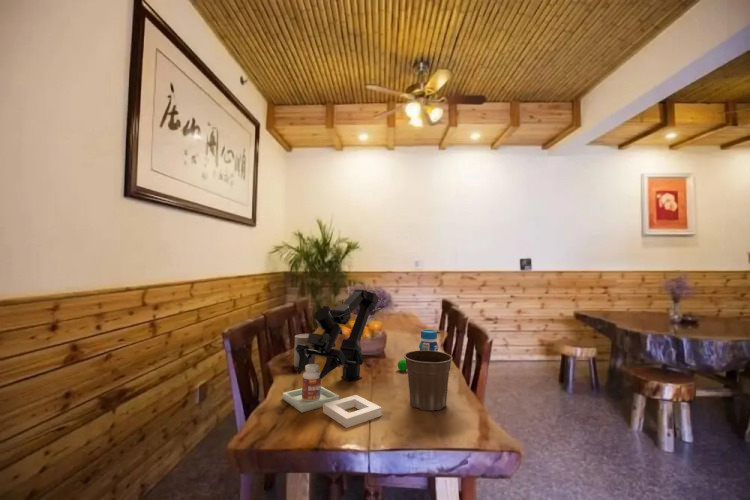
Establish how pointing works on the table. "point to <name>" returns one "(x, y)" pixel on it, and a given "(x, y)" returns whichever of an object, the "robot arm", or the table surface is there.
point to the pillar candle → (303, 340)
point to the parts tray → (303, 406)
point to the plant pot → (428, 378)
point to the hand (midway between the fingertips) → (309, 375)
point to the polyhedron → (402, 365)
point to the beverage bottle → (428, 340)
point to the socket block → (349, 419)
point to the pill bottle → (311, 383)
